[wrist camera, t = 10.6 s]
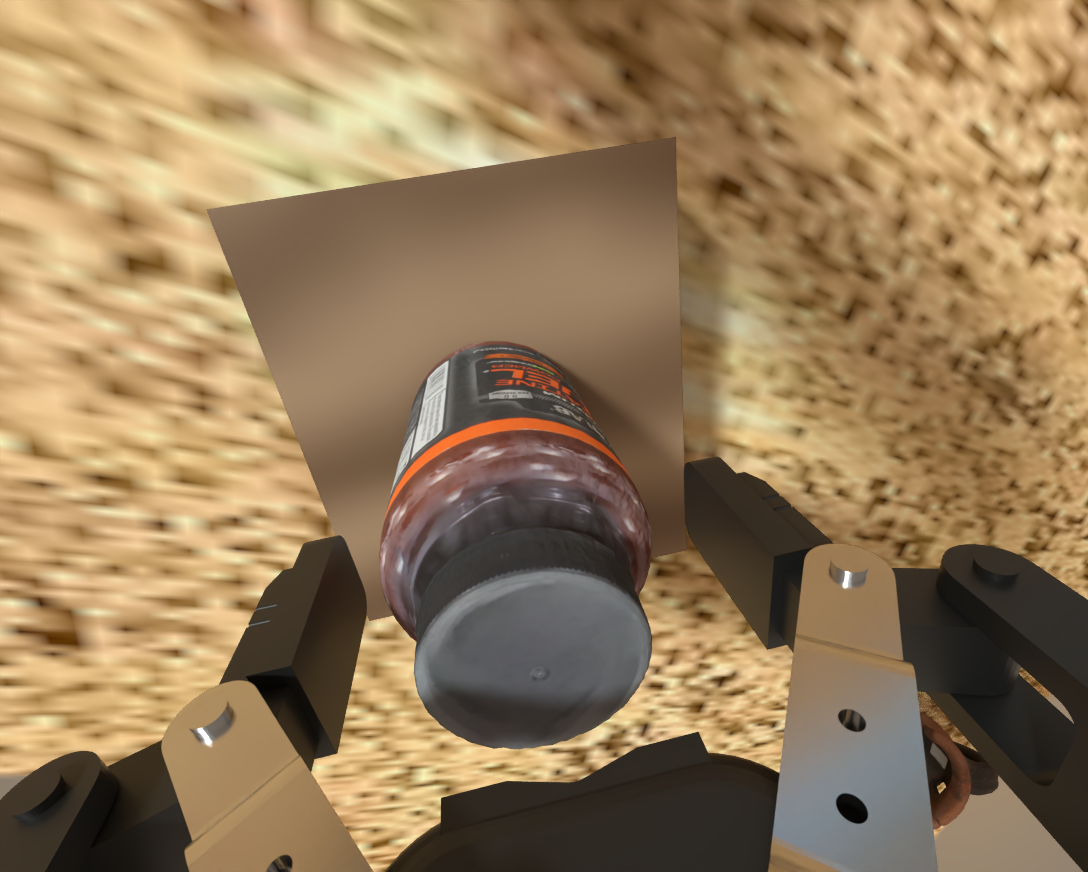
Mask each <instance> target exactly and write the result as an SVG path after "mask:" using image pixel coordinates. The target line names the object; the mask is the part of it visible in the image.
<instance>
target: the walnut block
mask: <svg viewBox="0 0 1088 872" xmlns="http://www.w3.org/2000/svg"><path fill="white" fill-rule="evenodd" d="M207 212H208V215H209V217H210V220H211V222H212V225H213V227H214V230H215V232H216V235H217V237H218V240H219V242H220V245H221V247H222V250H223V253H224V255H225V258H226V260H227V263H228V265H229V268H230V270H231V273H232V275H233V278H234V280H235V283H236V285H237V288H238V290H239V293H240V295H241V298H242V300H243V303H244V305H245V308H246V311H247V313H248V316H249V318H250V321H251V323H252V326H253V328H254V331H255V333H256V336H257V338H258V341H259V343H260V346H261V348H262V351H263V353H264V356H265V358H266V361H267V363H268V366H269V369H270V371H271V374H272V376H273V379H274V381H275V384H276V386H277V389H278V391H279V394H280V396H281V399H282V401H283V404H284V406H285V409H286V411H287V414H288V416H289V419H290V421H291V424H292V427H293V429H294V432H295V434H296V437H297V439H298V442H299V444H300V447H301V449H302V452H303V454H304V457H305V459H306V462H307V464H308V467H309V469H310V472H311V474H312V477H313V479H314V482H315V485H316V487H317V490H318V492H319V495H320V497H321V500H322V502H323V505H324V507H325V510H326V512H327V515H328V517H329V520H330V522H331V525H332V527H333V530H334V532H335V535H336V536H338V535H340V536H342V537H343V538H344V539H345V541H346V543H347V546H348V548H349V551H350V553H351V556H352V558H353V561H354V563H355V566H356V568H357V571H358V574H359V576H360V579H361V581H362V584H363V586H364V589H365V594H366V600H367V616H368V618H369V621H371V620H376V619H380V618H385V617H389V616H394V615H393V613H392V612H391V610H390V608H389V606H388V604H387V603H386V600H385V597H384V593H383V590H382V585H381V579H380V573H379V552H380V540H381V533H382V529H383V525H384V521H385V517H386V513H387V507H388V503H389V499H390V495H391V491H392V487H393V483H394V479H395V476H396V472H397V468H398V463H399V458H400V455H401V451H402V447H403V442H404V439H405V434H406V431H407V427H408V422H409V418H410V414H411V408H412V405H413V402H414V399H415V396H416V394H417V392H418V390H419V387H420V385H421V383H422V382H423V380H424V379H425V377H426V376H427V374H428V373H429V372H430V371H431V370H432V369H433V368H434V367H435V365H436V364H438V363H439V362H440V361H441V360H443V359H444V358H445V357H447V356H448V355H449V354H451V353H453V352H454V351H456V350H458V349H460V348H463V347H465V346H467V345H470V344H476V343H481V342H487V341H505V342H512V343H517V344H521V345H524V346H528V347H530V348H532V349H534V350H536V351H538V352H539V353H541V354H543V355H545V356H546V357H547V358H549V359H550V360H551V361H552V362H553V363H554V364H555V365H557V366H558V367H559V369H560V370H561V371H562V372H563V373H564V374H565V375H566V377H567V378H568V379H569V380H570V381H571V383H572V385H573V387H574V388H575V390H576V392H577V393H578V394H579V395H580V397H581V399H582V401H583V403H584V404H585V406H586V407H587V409H588V411H589V413H590V414H591V416H592V417H593V419H594V420H595V422H596V424H597V425H598V427H599V429H600V430H601V431H602V433H603V435H604V436H605V437H606V439H607V441H608V442H609V444H610V445H611V447H612V449H613V450H614V452H615V453H616V455H617V456H618V457H619V459H620V461H621V463H622V464H623V466H624V468H625V469H626V471H627V473H628V475H629V476H630V478H631V479H632V481H633V483H634V485H635V486H636V488H637V490H638V492H639V494H640V496H641V499H642V501H643V504H644V507H645V509H646V511H647V515H648V517H649V521H650V526H651V536H652V555H651V558H653V557H658V556H662V555H667V554H671V553H676V552H680V551H685V550H687V547H686V523H685V507H684V434H683V397H682V359H681V321H680V283H679V246H678V208H677V170H676V137H673V138H667V139H660V140H654V141H647V142H641V143H634V144H628V145H622V146H615V147H609V148H602V149H596V150H589V151H583V152H576V153H570V154H563V155H557V156H550V157H544V158H537V159H531V160H524V161H518V162H511V163H505V164H498V165H492V166H485V167H479V168H472V169H466V170H459V171H453V172H447V173H440V174H434V175H427V176H421V177H414V178H408V179H401V180H395V181H388V182H382V183H375V184H369V185H362V186H356V187H349V188H343V189H336V190H330V191H323V192H317V193H310V194H304V195H297V196H291V197H284V198H278V199H271V200H265V201H259V202H252V203H246V204H239V205H233V206H226V207H220V208H213V209H207Z"/></svg>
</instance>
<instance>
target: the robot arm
mask: <svg viewBox="0 0 1088 872" xmlns="http://www.w3.org/2000/svg"><path fill="white" fill-rule="evenodd" d="M684 507H685V523H686V527H687V531H688V534H689V536H690V538H691V540H692V542H693V544H694V545H695V547H696V548H697V550H698V551H699V552H700V554H701V555H702V557H703V558H704V560H705V561H706V562H707V564H708V565H709V567H710V568H711V570H712V571H713V573H714V574H715V575H716V577H717V578H718V580H719V581H720V583H721V584H722V585H723V587H724V588H725V590H726V591H727V593H728V594H729V596H730V597H731V598H732V600H733V601H734V603H735V604H736V606H737V607H738V608H739V610H740V611H741V613H742V614H743V616H744V617H745V619H746V620H747V621H748V623H749V624H750V626H751V627H752V629H753V630H754V631H755V633H756V634H757V636H758V637H759V639H760V640H761V641H762V643H763V644H764V646H765V647H766V649H767V650H768V649H772V648H776V647H780V646H784V645H788V646H789V648H790V649H791V650H792V652H793V661H792V670H791V679H790V688H789V696H788V705H787V714H786V722H785V731H784V740H783V749H782V757H781V766H780V773H778V772H776V771H774V770H772V769H770V768H768V767H766V766H764V765H761V764H758V763H756V762H753V761H751V760H747V759H744V758H740V757H736V756H732V755H725V754H718V753H708V752H707V750H706V748H705V745H704V743H703V741H702V739H701V737H700V734H699V732H696V733H692V734H688V735H684V736H680V737H676V738H672V739H668V740H665V741H661V742H657V743H653V744H649V745H645V746H641V747H637V748H635V749H634V750H632V751H630V752H629V753H627V754H625V755H623V756H622V757H620V758H618V759H616V760H615V761H613V762H611V763H610V764H608V765H606V766H604V767H603V768H601V769H599V770H598V771H596V772H594V773H592V774H591V775H589V776H587V777H585V778H584V779H582V780H580V781H577V782H570V783H566V782H522V781H505V782H501V783H497V784H493V785H490V786H486V787H482V788H478V789H474V790H470V791H466V792H462V793H458V794H455V795H451V796H447V797H443V798H441V823H439V824H438V825H436V826H434V827H433V828H431V829H430V830H428V831H427V832H426V833H424V834H423V835H421V836H420V837H419V838H417V839H416V840H415V841H414V842H413V843H412V844H410V845H409V846H408V847H407V848H406V849H405V850H404V851H403V852H402V853H401V854H400V855H399V856H398V857H397V858H396V859H395V860H394V861H393V862H392V863H391V865H390V866H389V867H388V868H387V869H386V870H385V872H938V865H937V857H936V848H935V839H934V831H933V822H932V814H931V805H930V796H929V788H928V779H927V771H926V762H925V753H924V745H923V736H922V728H921V719H920V710H919V702H918V693H917V691H921V692H926V693H927V694H928V695H929V697H930V698H931V699H932V700H933V701H934V702H935V703H936V705H937V706H938V707H939V708H940V709H941V710H942V711H943V712H944V714H945V715H946V716H947V717H948V718H949V719H950V720H951V722H952V723H953V724H954V725H955V726H956V727H957V728H958V730H959V731H960V732H961V733H962V734H963V735H964V736H965V738H966V739H967V740H968V741H969V742H970V743H971V744H972V745H973V747H974V748H975V749H976V750H977V751H978V752H979V753H980V755H981V756H982V757H983V758H984V759H985V760H986V761H987V763H988V764H989V765H990V766H991V767H992V768H993V769H994V770H995V772H996V773H997V774H998V775H999V776H1000V777H1001V778H1002V779H1003V781H1004V782H1005V783H1006V784H1007V785H1008V786H1009V787H1010V789H1011V790H1012V791H1013V792H1014V793H1015V794H1016V795H1017V797H1018V798H1019V799H1020V800H1021V801H1022V802H1023V803H1024V805H1025V806H1026V807H1027V808H1028V809H1029V810H1030V811H1031V813H1032V814H1033V815H1034V816H1035V817H1036V818H1037V819H1038V821H1040V823H1041V824H1042V825H1043V826H1044V827H1045V829H1046V830H1047V831H1048V832H1049V833H1050V834H1051V835H1052V836H1053V838H1054V839H1055V840H1056V841H1057V842H1058V843H1059V844H1060V846H1061V847H1062V848H1063V849H1064V850H1065V851H1066V852H1067V853H1068V854H1069V856H1070V857H1071V858H1072V859H1073V860H1074V861H1075V863H1076V864H1077V865H1078V866H1079V867H1080V868H1081V869H1082V871H1083V872H1088V600H1087V599H1086V598H1084V597H1083V596H1081V595H1080V594H1078V593H1077V592H1075V591H1074V590H1072V589H1071V588H1069V587H1068V586H1066V585H1065V584H1064V583H1062V582H1061V581H1059V580H1058V579H1056V578H1055V577H1053V576H1052V575H1050V574H1049V573H1047V572H1046V571H1044V570H1043V569H1041V568H1040V567H1038V566H1037V565H1035V564H1034V563H1032V562H1031V561H1029V560H1027V559H1025V558H1023V557H1021V556H1019V555H1017V554H1015V553H1012V552H1009V551H1006V550H1003V549H1000V548H996V547H992V546H985V545H976V544H966V545H959V546H955V547H952V548H950V549H948V550H947V551H946V552H945V553H944V555H943V558H942V561H941V565H940V569H917V568H891V567H890V566H889V565H888V563H887V562H885V561H884V560H883V559H882V558H880V557H879V556H877V555H876V554H874V553H872V552H870V551H868V550H865V549H863V548H860V547H856V546H852V545H847V544H834V543H833V542H831V541H830V540H829V539H828V538H827V537H826V536H825V535H824V534H823V533H822V532H820V531H819V530H818V529H817V528H816V527H815V526H814V525H813V524H812V523H810V522H809V521H808V520H807V519H806V518H805V517H804V516H803V515H802V514H801V513H799V512H798V511H797V510H796V509H795V508H794V507H793V508H792V507H791V504H789V503H788V502H787V501H786V500H785V499H784V498H783V497H780V496H779V494H778V493H777V492H776V491H775V490H774V489H773V488H772V487H771V486H770V485H768V484H767V483H766V482H765V481H763V480H761V479H759V478H757V477H754V476H752V475H750V474H748V473H745V472H742V473H738V474H736V473H735V472H734V471H733V470H732V469H731V468H730V467H729V466H728V465H727V464H726V463H725V462H724V461H723V460H722V459H721V458H719V457H712V458H707V459H702V460H698V461H693V462H688V463H686V464H685V466H684ZM256 609H257V611H255V612H254V613H253V616H252V618H251V620H250V622H249V627H248V628H246V630H245V632H244V634H243V636H242V638H241V640H240V642H239V644H238V646H237V648H236V651H235V653H234V655H233V657H232V659H231V661H230V663H229V665H228V667H227V669H226V671H225V673H224V675H223V677H222V679H221V681H220V683H219V685H218V686H215V687H213V688H211V689H209V690H207V691H206V692H204V693H202V694H201V695H199V696H198V697H196V698H195V699H194V700H192V701H191V702H190V703H189V704H187V705H186V706H185V707H184V708H183V709H182V710H181V711H180V712H179V713H178V714H177V715H176V717H175V718H174V719H173V720H172V722H171V723H170V725H169V726H168V728H167V730H166V732H165V734H164V737H163V740H161V741H159V742H157V743H155V744H153V745H151V746H149V747H147V748H145V749H143V750H141V751H139V752H137V753H134V754H132V755H130V756H128V757H126V758H124V759H122V760H120V761H118V762H116V763H114V764H112V765H110V766H108V767H107V766H106V765H105V764H104V762H103V761H102V760H101V759H100V758H99V757H98V756H97V754H95V753H93V752H89V751H78V752H74V753H70V754H67V755H64V756H61V757H59V758H57V759H55V760H53V761H51V762H49V763H47V764H45V765H43V766H42V767H40V768H39V769H37V770H35V771H34V772H32V773H31V774H30V775H28V776H27V777H26V778H24V779H23V780H22V781H20V782H19V783H18V784H17V785H16V786H14V787H13V788H12V789H11V790H10V791H9V792H8V793H7V794H6V795H5V796H4V797H3V798H2V799H1V800H0V872H373V871H372V869H371V867H370V866H369V864H368V863H367V861H366V859H365V858H364V856H363V855H362V853H361V851H360V850H359V848H358V847H357V845H356V844H355V842H354V840H353V839H352V837H351V836H350V834H349V832H348V831H347V829H346V828H345V826H344V825H343V823H342V821H341V820H340V818H339V817H338V815H337V813H336V812H335V810H334V809H333V807H332V805H331V804H330V802H329V801H328V799H327V798H326V796H325V794H324V793H323V791H322V790H321V788H320V786H319V785H318V783H317V782H316V780H315V778H314V777H313V775H312V774H311V771H312V767H313V763H314V759H317V758H321V757H325V756H329V755H333V754H337V752H338V747H339V743H340V738H341V733H342V728H343V724H344V719H345V714H346V709H347V705H348V700H349V695H350V690H351V686H352V681H353V676H354V672H355V667H356V662H357V657H358V653H359V648H360V643H361V638H362V634H363V629H364V624H365V620H366V614H367V600H366V594H365V589H364V586H363V584H362V581H361V579H360V576H359V574H358V571H357V568H356V566H355V563H354V561H353V558H352V556H351V553H350V551H349V548H348V546H347V543H346V541H345V539H344V538H343V537H342V536H340V535H338V536H334V537H329V538H324V539H320V540H315V541H310V542H306V543H304V544H303V546H302V548H301V550H300V553H299V555H298V557H297V560H296V562H295V564H294V566H293V568H291V569H286V570H283V571H282V572H281V573H280V574H279V575H278V576H277V577H276V578H275V579H274V580H273V581H272V582H271V583H270V585H269V586H268V587H267V588H266V589H265V591H264V593H263V595H262V597H261V599H260V601H259V603H258V605H257V607H256ZM1021 667H1022V668H1023V669H1024V670H1026V671H1027V672H1028V673H1029V674H1030V675H1031V676H1032V677H1033V678H1035V679H1036V680H1037V681H1038V682H1039V683H1040V684H1041V685H1043V686H1044V687H1045V688H1046V689H1047V690H1048V691H1049V692H1050V693H1052V694H1053V695H1054V696H1055V697H1056V698H1057V699H1058V700H1059V701H1060V702H1061V703H1062V704H1063V705H1064V707H1065V708H1066V709H1067V711H1068V712H1069V714H1070V716H1071V717H1072V719H1073V722H1074V724H1073V723H1072V722H1071V721H1070V720H1069V719H1068V718H1067V717H1066V716H1065V715H1063V714H1062V713H1061V712H1060V711H1059V710H1058V709H1057V708H1056V707H1055V706H1053V705H1052V704H1051V703H1050V702H1049V701H1048V700H1047V699H1046V698H1045V697H1044V696H1042V695H1041V694H1040V693H1039V692H1038V691H1037V690H1036V689H1035V688H1034V687H1032V686H1031V685H1030V684H1029V683H1028V682H1027V681H1026V680H1025V679H1024V678H1022V677H1021V676H1020V675H1019V671H1020V669H1021Z"/></svg>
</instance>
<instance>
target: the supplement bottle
mask: <svg viewBox="0 0 1088 872" xmlns="http://www.w3.org/2000/svg"><path fill="white" fill-rule="evenodd" d="M651 555H652V536H651V526H650V521H649V517H648V515H647V511H646V509H645V507H644V504H643V501H642V499H641V496H640V494H639V492H638V490H637V488H636V486H635V485H634V483H633V481H632V479H631V478H630V476H629V475H628V473H627V471H626V469H625V468H624V466H623V464H622V463H621V461H620V459H619V457H618V456H617V455H616V453H615V452H614V450H613V449H612V447H611V445H610V444H609V442H608V441H607V439H606V437H605V436H604V435H603V433H602V431H601V430H600V429H599V427H598V425H597V424H596V422H595V420H594V419H593V417H592V416H591V414H590V413H589V411H588V409H587V407H586V406H585V404H584V403H583V401H582V399H581V397H580V395H579V394H578V393H577V392H576V390H575V388H574V387H573V385H572V383H571V381H570V380H569V379H568V378H567V377H566V375H565V374H564V373H563V372H562V371H561V370H560V369H559V367H558V366H557V365H555V364H554V363H553V362H552V361H551V360H550V359H549V358H547V357H546V356H545V355H543V354H541V353H539V352H538V351H536V350H534V349H532V348H530V347H528V346H524V345H521V344H517V343H512V342H505V341H487V342H481V343H476V344H470V345H467V346H465V347H463V348H460V349H458V350H456V351H454V352H453V353H451V354H449V355H448V356H447V357H445V358H444V359H443V360H441V361H440V362H439V363H438V364H436V365H435V367H434V368H433V369H432V370H431V371H430V372H429V373H428V374H427V376H426V377H425V379H424V380H423V382H422V383H421V385H420V387H419V390H418V392H417V394H416V396H415V399H414V402H413V405H412V408H411V414H410V418H409V422H408V427H407V431H406V434H405V439H404V442H403V447H402V451H401V455H400V458H399V463H398V468H397V472H396V476H395V479H394V483H393V487H392V491H391V495H390V499H389V503H388V507H387V513H386V517H385V521H384V525H383V529H382V533H381V540H380V552H379V573H380V579H381V585H382V590H383V593H384V597H385V600H386V603H387V604H388V606H389V608H390V610H391V612H392V613H393V615H394V617H395V619H396V620H397V621H398V623H399V624H400V625H401V626H402V628H403V629H404V630H405V631H406V632H407V633H408V635H409V636H410V637H411V638H412V639H414V640H415V641H416V642H417V644H416V650H415V664H414V675H415V681H416V687H417V690H418V694H419V696H420V698H421V700H422V701H423V704H424V706H425V708H426V710H427V711H428V713H429V714H430V715H431V716H432V717H433V718H435V719H436V720H437V721H438V722H439V723H440V725H441V726H443V727H444V728H446V729H447V730H449V731H450V732H452V733H453V734H455V735H456V736H458V737H462V738H464V739H465V740H467V741H469V742H471V743H475V744H479V745H482V746H486V747H490V748H502V747H504V748H509V749H524V748H535V747H540V746H547V745H553V744H556V743H558V742H561V741H567V740H569V739H571V738H573V737H575V736H577V735H579V734H583V733H586V732H588V731H590V730H592V729H594V728H595V727H597V726H599V725H600V724H601V723H603V722H604V721H606V720H608V719H609V718H610V717H611V716H612V715H613V714H614V713H616V712H617V711H618V710H620V709H621V708H622V707H624V706H625V704H626V703H627V702H628V701H629V699H630V698H631V697H632V695H633V694H634V693H635V691H636V690H637V689H638V687H639V685H640V683H641V682H642V680H643V679H644V676H645V673H646V671H647V670H648V667H649V661H650V658H651V652H652V635H651V630H650V626H649V623H648V620H647V617H646V615H645V612H644V610H643V608H642V605H641V603H640V600H639V598H638V596H639V594H640V592H641V590H642V588H643V587H644V584H645V581H646V578H647V575H648V570H649V568H650V560H651Z"/></svg>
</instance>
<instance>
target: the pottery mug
mask: <svg viewBox="0 0 1088 872" xmlns="http://www.w3.org/2000/svg"><path fill="white" fill-rule="evenodd" d="M920 719H921V728H922V736H923V745H924V753H925V762H926V771H927V779H928V788H929V796H930V805H931V814H932V822H933V830H934V829H938V828H940V826H941V825H943V826H945V825H947V824H949V823H950V822H951V821H952V820H954V819H955V818H956V817H957V816H958V815H959V814H960V813H961V812H962V811H963V809H964V807H965V805H966V803H967V801H968V799H969V795H970V794H972V795H984V794H988V793H992V792H993V791H995V790H996V789H997V788H998V774H997V773H996V772H995V770H994V769H993V768H992V767H991V766H990V765H989V764H988V763H987V761H986V760H985V759H984V758H983V757H982V756H981V755H980V753H978V752H977V751H975V750H973V749H971V748H968V747H966V746H964V745H961V744H959V743H956V742H954V741H952V739H951V738H950V736H949V735H948V734H947V733H946V732H945V731H944V730H943V729H942V728H941V727H940V725H939V724H938V723H936V722H935V721H934V720H933V719H931V718H930V717H928V716H927V715H925V714H923V713H921V712H920ZM943 782H944V783H945V785H946V788H945V789H944V790H943V791H942V792H941V793H940V794H939V792H938V789H937V786H938V785H940V784H941V783H943Z"/></svg>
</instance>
